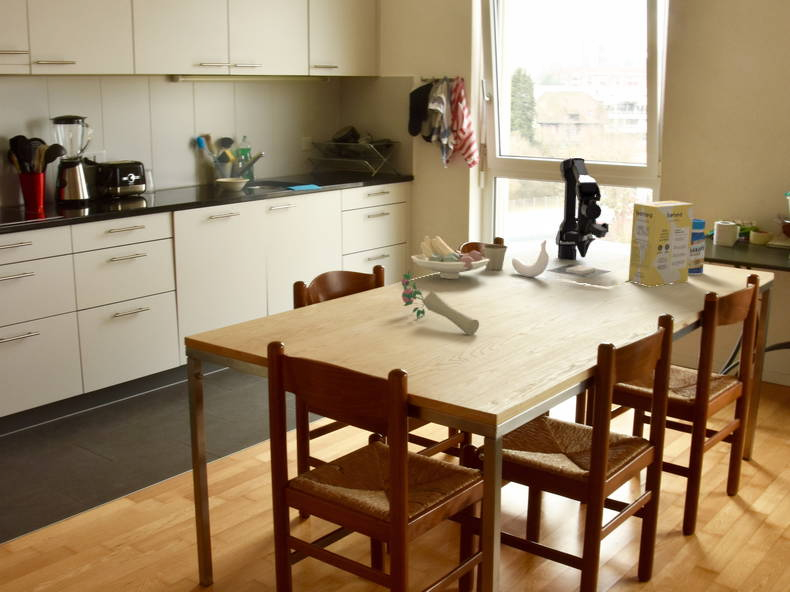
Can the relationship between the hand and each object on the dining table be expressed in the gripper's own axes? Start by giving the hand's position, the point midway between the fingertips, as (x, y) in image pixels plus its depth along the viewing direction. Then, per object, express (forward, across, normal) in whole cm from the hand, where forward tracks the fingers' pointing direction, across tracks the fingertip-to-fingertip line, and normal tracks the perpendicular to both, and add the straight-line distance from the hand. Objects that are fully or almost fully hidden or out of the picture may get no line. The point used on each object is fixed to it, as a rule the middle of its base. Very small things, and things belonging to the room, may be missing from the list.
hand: (583, 257), depth 326 cm
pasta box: (+6, +7, -27) cm, 29 cm away
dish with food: (+6, -41, +30) cm, 51 cm away
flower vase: (+6, -91, -7) cm, 92 cm away
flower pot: (+6, -17, +28) cm, 33 cm away
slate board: (+6, -1, +1) cm, 6 cm away
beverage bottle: (+6, +29, -29) cm, 41 cm away
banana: (+6, -19, +11) cm, 23 cm away
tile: (+5, +3, 0) cm, 6 cm away
